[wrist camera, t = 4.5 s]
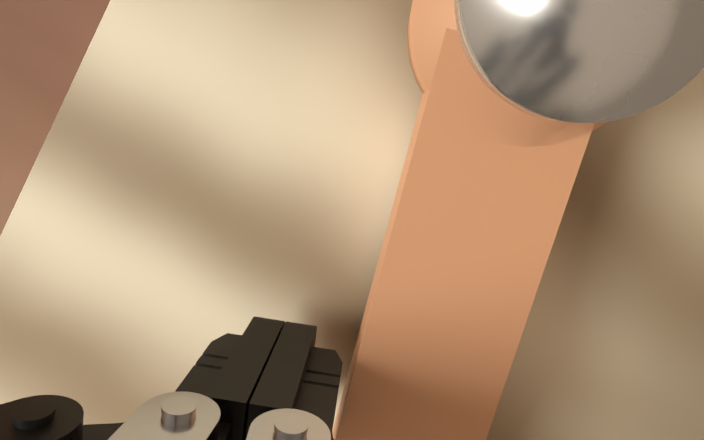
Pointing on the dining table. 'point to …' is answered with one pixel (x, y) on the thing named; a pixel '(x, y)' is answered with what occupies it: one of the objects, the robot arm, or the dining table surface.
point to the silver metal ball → (583, 53)
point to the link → (456, 250)
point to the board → (324, 221)
